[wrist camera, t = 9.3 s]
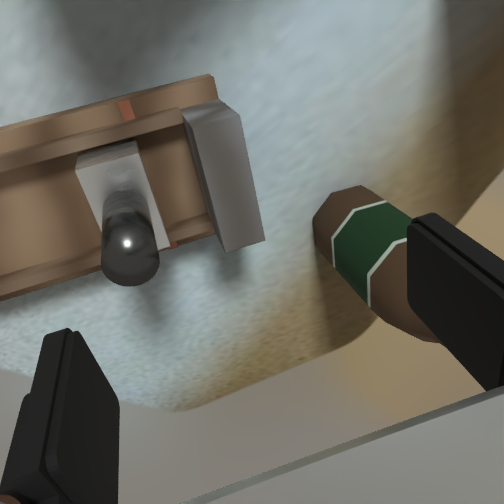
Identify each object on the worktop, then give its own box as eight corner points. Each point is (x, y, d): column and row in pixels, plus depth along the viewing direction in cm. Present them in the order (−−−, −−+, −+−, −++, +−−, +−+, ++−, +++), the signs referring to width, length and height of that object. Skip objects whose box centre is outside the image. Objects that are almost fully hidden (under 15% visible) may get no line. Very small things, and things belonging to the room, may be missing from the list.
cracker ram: (135, 137, 30) (146, 191, 21) (164, 223, 34) (185, 301, 25) (78, 152, 30) (65, 215, 21) (114, 238, 34) (116, 323, 24)
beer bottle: (329, 269, 44) (513, 484, 24) (295, 214, 40) (483, 419, 20) (392, 225, 44) (633, 406, 24) (364, 166, 40) (628, 324, 20)
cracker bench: (208, 73, 32) (234, 89, 25) (240, 214, 38) (268, 257, 32) (-137, 162, 29) (-212, 208, 22) (-39, 301, 35) (-75, 370, 28)
